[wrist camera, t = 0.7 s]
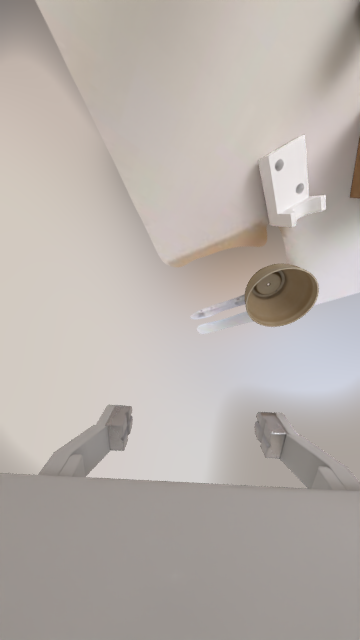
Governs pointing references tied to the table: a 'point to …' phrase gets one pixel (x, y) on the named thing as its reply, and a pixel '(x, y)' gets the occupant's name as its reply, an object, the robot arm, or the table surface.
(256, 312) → the planter bowl
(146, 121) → the table surface
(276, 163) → the bracket
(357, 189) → the carton
